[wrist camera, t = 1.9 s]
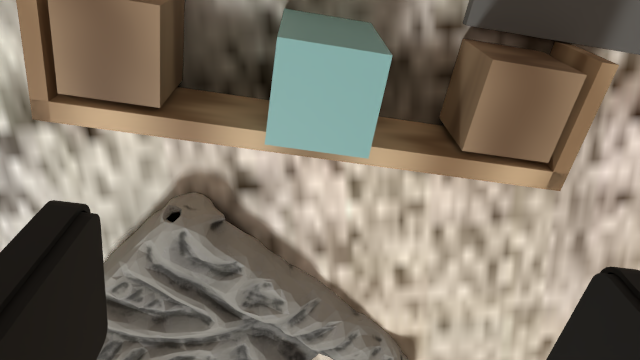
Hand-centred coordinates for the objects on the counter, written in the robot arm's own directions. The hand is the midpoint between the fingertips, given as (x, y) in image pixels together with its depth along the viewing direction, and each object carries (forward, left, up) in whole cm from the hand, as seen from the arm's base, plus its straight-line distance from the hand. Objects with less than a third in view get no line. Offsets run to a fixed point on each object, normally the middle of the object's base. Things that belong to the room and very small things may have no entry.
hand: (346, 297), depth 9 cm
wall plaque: (+3, +23, -19) cm, 30 cm away
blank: (0, 0, -18) cm, 18 cm away
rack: (0, 0, -18) cm, 18 cm away
